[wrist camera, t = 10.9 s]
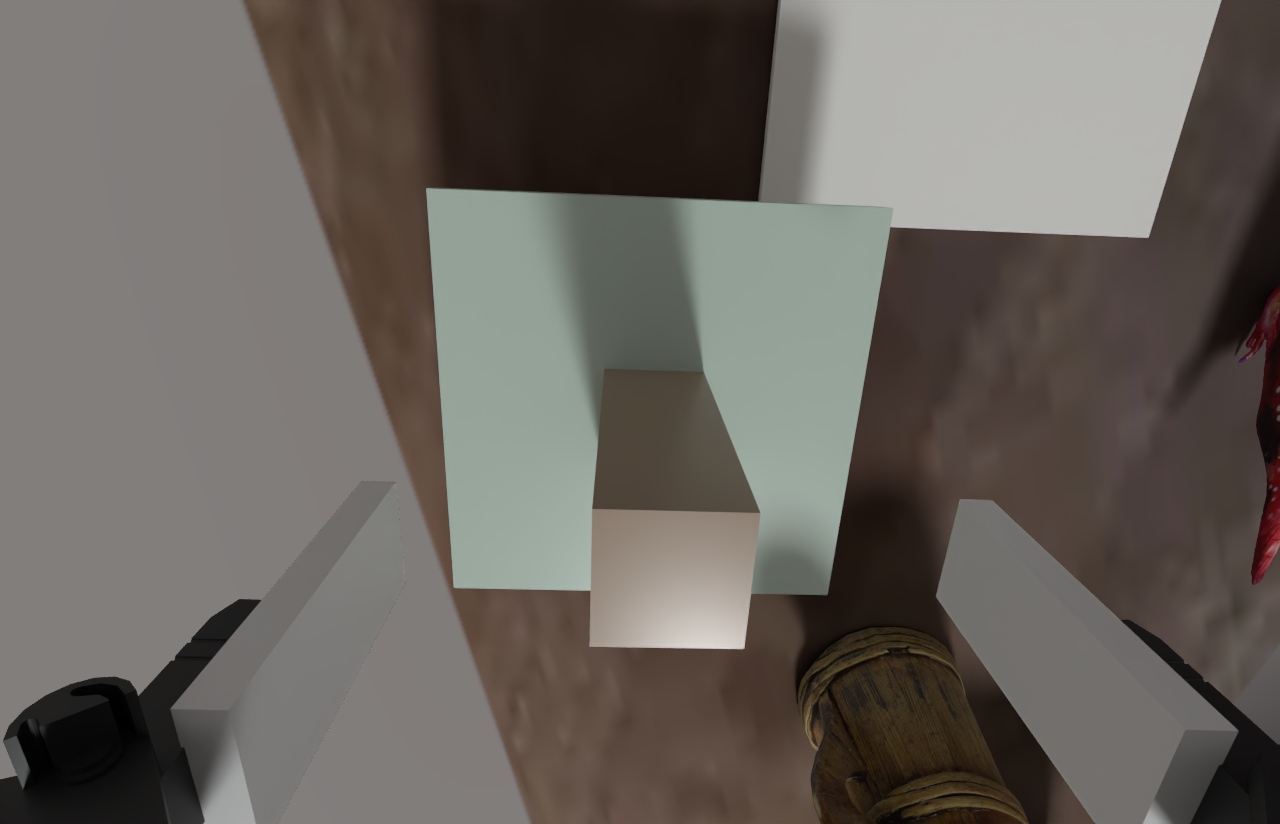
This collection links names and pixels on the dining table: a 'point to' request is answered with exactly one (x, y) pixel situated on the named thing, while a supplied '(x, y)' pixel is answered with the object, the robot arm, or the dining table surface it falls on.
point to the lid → (650, 398)
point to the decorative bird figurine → (1268, 432)
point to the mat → (983, 109)
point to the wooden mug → (898, 736)
